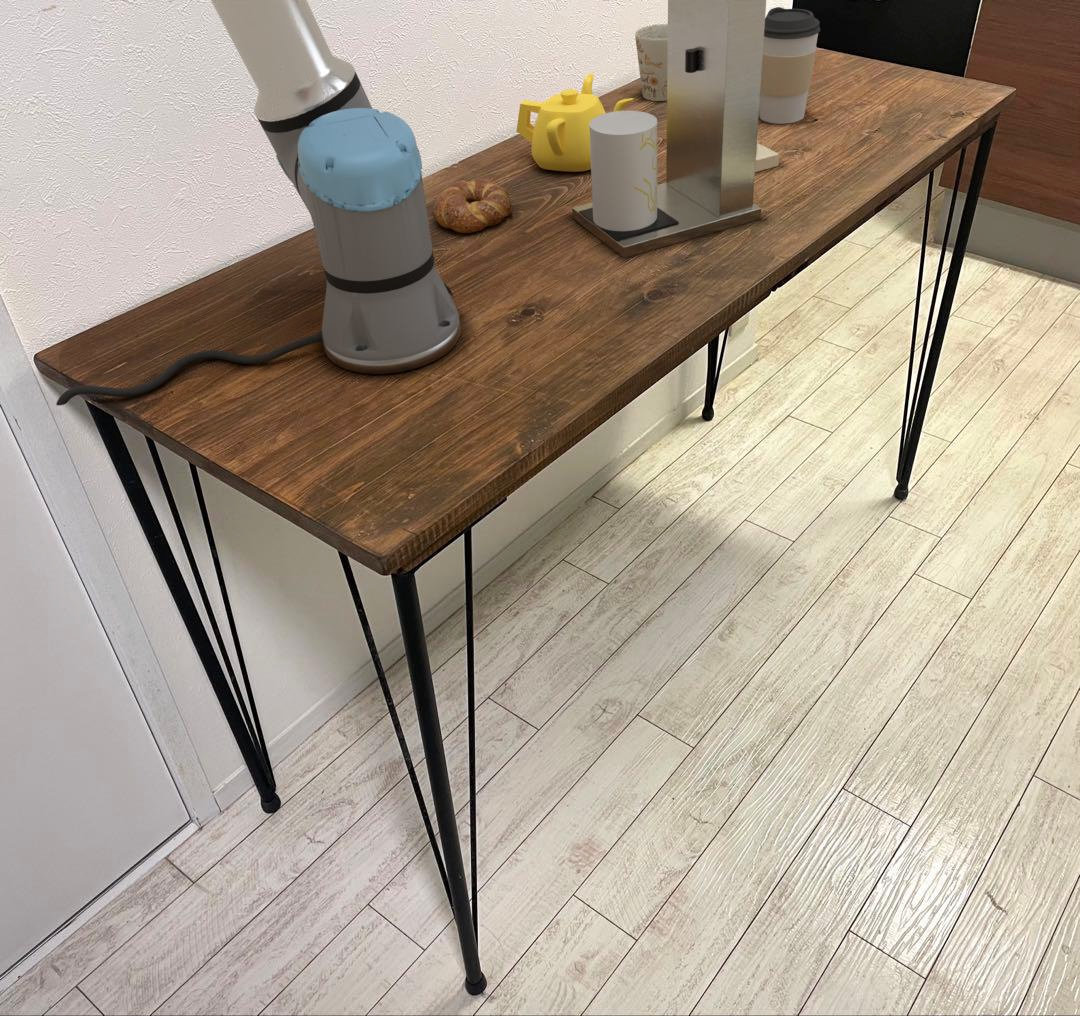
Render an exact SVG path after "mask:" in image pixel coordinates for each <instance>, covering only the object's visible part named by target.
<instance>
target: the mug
mask: <svg viewBox="0 0 1080 1016" xmlns="http://www.w3.org/2000/svg"><path fill="white" fill-rule="evenodd" d="M634 38H635V46H636V54H637V61H638V69H639V78H640V86H641V93H642V97H643V98H644V99H645V100H647V101H652V102H667V55H668V23H659V24H658V23H657V24H652V25H646V26H643V27H640V28H638V29H637V30H636V31H635V33H634Z"/></svg>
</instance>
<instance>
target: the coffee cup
mask: <svg viewBox="0 0 1080 1016" xmlns="http://www.w3.org/2000/svg"><path fill="white" fill-rule="evenodd" d="M820 32H821V27H820V20H819V19H818V18H816V17H815V15H814V12H813V11H810V10H808V9H803V8H784V7H782V6H777V7H773V8H770V9H769V10H768V12H767V14H766V15H765V28H764V43H763V58H762V73H761V88H760V103H759V119H760V120H762V121H763V122H765V123H769V124H776V125H777V124H778V125H781V124H783V125H785V124H791V123H796V122H800V121H801V120H803V119H804V118H805V114H806V108H807V103H808V102H807V101H808V96H809V91H810V90H811V84H812V78H813V73H814V67H815V62H816V55H817V50H818V47H817V43H818V36H819V33H820Z"/></svg>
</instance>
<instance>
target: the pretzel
mask: <svg viewBox="0 0 1080 1016" xmlns="http://www.w3.org/2000/svg"><path fill="white" fill-rule="evenodd" d="M512 210H513V204H512V201H511V199H510V196H509V192H508V191H507V189H506V188H504V186H501V185H499V184H496V183H494V182H492V181H491V180H490V179H489V180H487V179H484V178H477V179H473V180H471V181H467V180H464V179H461V180H457V181H453V182H450V183H448V184H446V185H445V186H443V187H442V188H441V189H440V191H438V192H437V195H436V198H435V202H434V203H433V207H432V213H433V217H434V220H435V221H436V222H437V223H438V225H440V226H441V227H443V228H446V229H451V230H452V231H454V232H456V233H460V234H471V233H475V232H479V231H481V230H483V229H485V228H486V227H493V226H497V225H498V224H500V223H501V222H502V221H503V219H504V218H506V217H508V216H509V215H511V213H512Z"/></svg>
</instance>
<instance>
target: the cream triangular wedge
mask: <svg viewBox="0 0 1080 1016" xmlns="http://www.w3.org/2000/svg"><path fill="white" fill-rule="evenodd" d="M779 165H780V153H779V152H776V151H774V150H772V149H770V148H769V147H766V146H765V145H763V144H761V143H759V141H758V140H757V148H756V163H755V173H758V172H760V171H766V170H768V169H772V168H776V167H779Z"/></svg>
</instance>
